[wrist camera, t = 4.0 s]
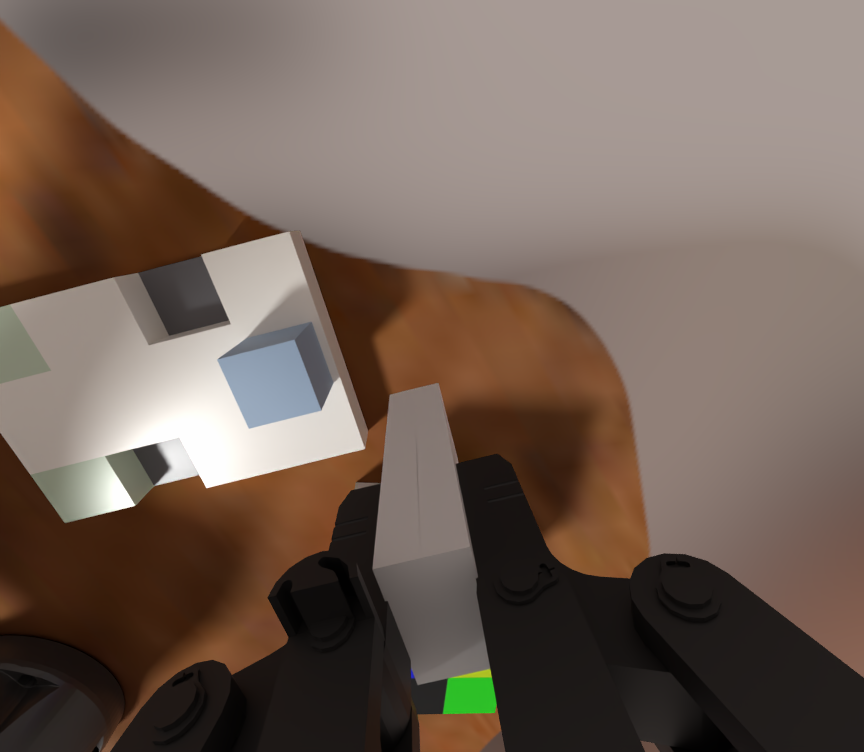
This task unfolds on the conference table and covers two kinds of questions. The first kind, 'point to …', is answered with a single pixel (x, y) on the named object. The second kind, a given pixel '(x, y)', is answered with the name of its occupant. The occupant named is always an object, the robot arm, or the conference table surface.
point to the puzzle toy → (452, 688)
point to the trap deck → (163, 378)
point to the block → (278, 375)
